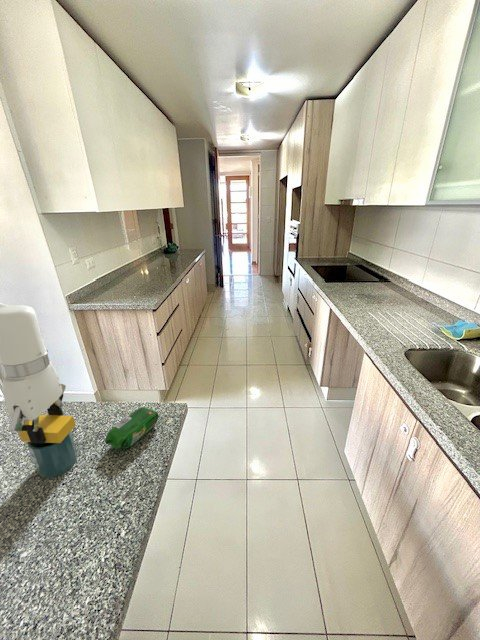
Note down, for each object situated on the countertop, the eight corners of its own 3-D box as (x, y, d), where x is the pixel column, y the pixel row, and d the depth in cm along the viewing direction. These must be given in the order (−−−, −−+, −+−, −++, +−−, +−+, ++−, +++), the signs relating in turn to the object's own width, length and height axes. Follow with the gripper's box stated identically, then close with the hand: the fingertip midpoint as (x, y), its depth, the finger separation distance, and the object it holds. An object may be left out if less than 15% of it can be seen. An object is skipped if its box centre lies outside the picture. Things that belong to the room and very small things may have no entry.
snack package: (101, 450, 68) (97, 434, 66) (146, 413, 81) (144, 400, 79) (120, 461, 65) (116, 445, 63) (163, 421, 78) (162, 407, 76)
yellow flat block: (21, 441, 59) (17, 431, 57) (40, 424, 64) (36, 414, 63) (60, 443, 58) (57, 433, 57) (75, 425, 63) (73, 415, 62)
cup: (29, 477, 61) (18, 448, 57) (54, 448, 68) (45, 421, 65) (63, 479, 60) (54, 450, 57) (84, 450, 68) (77, 423, 65)
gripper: (41, 345, 63) (59, 406, 69) (-32, 388, 46) (0, 462, 53) (71, 346, 62) (86, 407, 69) (8, 389, 46) (35, 464, 53)
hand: (48, 430), depth 61 cm, fingers closed on yellow flat block, 5 cm apart
